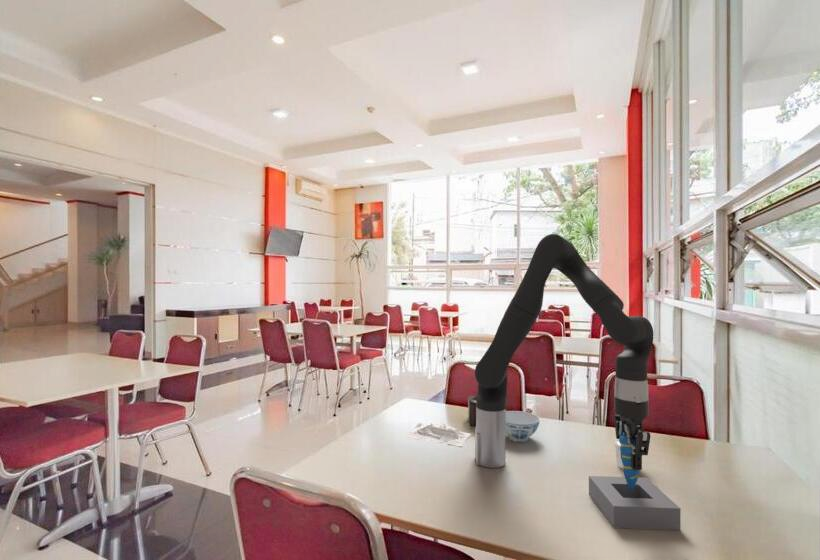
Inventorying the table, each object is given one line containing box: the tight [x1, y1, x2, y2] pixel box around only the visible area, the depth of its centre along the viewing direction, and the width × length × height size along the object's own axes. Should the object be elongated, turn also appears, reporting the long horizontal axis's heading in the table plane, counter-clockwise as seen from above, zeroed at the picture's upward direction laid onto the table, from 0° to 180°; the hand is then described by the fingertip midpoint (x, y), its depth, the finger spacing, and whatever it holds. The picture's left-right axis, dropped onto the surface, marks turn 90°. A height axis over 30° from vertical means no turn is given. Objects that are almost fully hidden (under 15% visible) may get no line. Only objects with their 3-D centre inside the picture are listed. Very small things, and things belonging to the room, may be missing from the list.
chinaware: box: [506, 410, 541, 443], centre depth 150 cm, size 15×15×8 cm
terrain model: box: [405, 422, 472, 448], centre depth 152 cm, size 17×23×5 cm
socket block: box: [588, 475, 681, 531], centre depth 102 cm, size 15×15×5 cm
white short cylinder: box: [614, 439, 624, 470], centre depth 127 cm, size 7×7×7 cm
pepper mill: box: [467, 394, 477, 427], centre depth 169 cm, size 16×11×18 cm
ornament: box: [620, 434, 640, 490], centre depth 102 cm, size 5×5×15 cm
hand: (631, 464), depth 102 cm, fingers closed on ornament, 5 cm apart
